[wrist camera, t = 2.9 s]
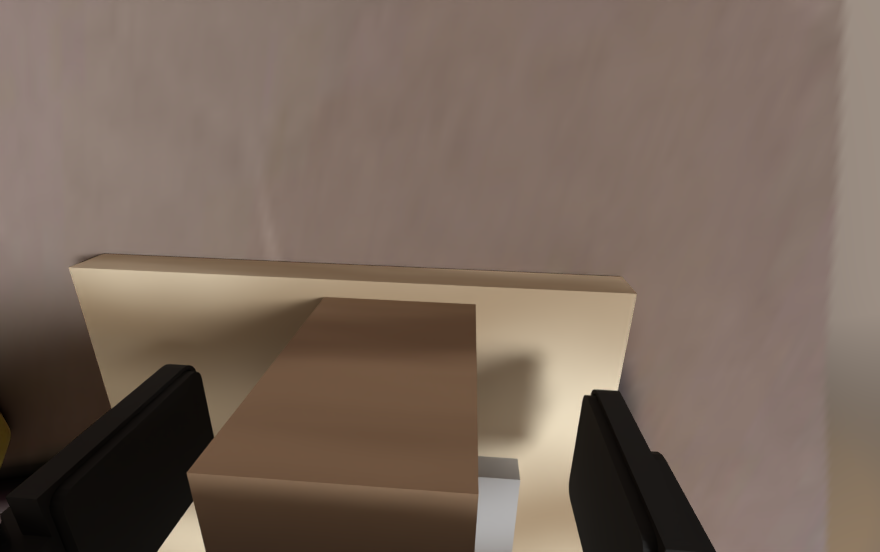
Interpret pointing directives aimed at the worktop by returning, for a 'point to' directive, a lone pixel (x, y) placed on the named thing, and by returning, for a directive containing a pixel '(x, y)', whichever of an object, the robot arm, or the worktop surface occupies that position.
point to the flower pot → (3, 438)
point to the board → (306, 284)
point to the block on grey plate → (360, 442)
